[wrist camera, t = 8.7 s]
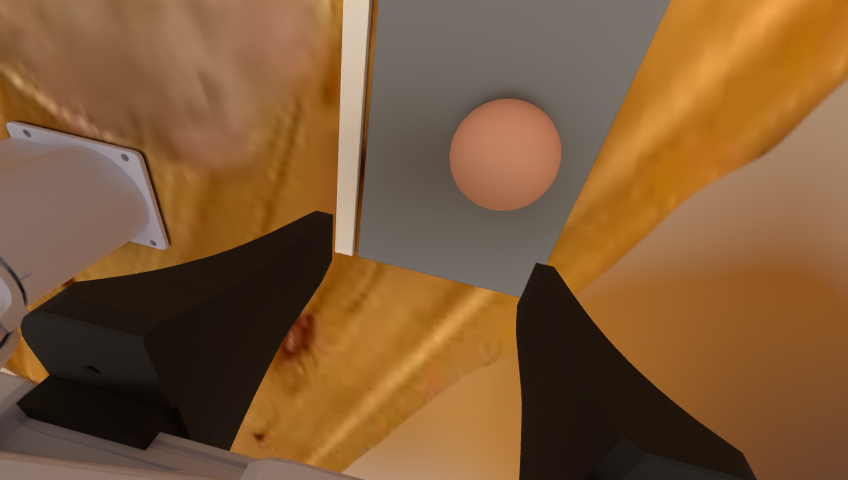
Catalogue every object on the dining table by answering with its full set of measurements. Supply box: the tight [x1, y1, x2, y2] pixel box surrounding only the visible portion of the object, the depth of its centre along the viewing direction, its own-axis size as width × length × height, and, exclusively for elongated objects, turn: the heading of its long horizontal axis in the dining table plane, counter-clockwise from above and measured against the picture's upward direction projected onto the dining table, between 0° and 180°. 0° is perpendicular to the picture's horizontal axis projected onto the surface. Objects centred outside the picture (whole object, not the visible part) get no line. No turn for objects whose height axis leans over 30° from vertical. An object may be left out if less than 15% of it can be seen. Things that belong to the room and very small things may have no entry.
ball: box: [449, 99, 561, 211], centre depth 17 cm, size 5×5×5 cm
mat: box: [335, 0, 671, 297], centre depth 19 cm, size 14×20×1 cm
